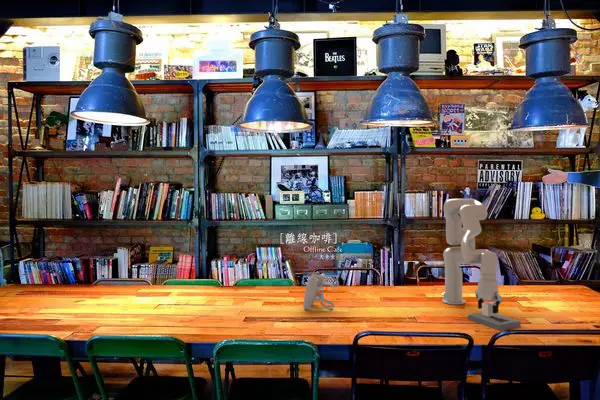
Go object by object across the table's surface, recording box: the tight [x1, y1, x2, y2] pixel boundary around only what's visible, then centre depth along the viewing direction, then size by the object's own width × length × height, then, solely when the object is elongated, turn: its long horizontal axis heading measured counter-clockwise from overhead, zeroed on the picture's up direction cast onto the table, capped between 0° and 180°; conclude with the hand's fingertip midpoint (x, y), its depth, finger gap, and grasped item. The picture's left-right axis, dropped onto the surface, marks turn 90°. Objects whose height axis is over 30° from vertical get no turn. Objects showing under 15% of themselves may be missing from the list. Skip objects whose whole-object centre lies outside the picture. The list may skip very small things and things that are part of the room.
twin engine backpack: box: [303, 271, 341, 311], centre depth 278 cm, size 18×19×20 cm
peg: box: [481, 301, 494, 317], centre depth 250 cm, size 4×4×9 cm
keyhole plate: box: [467, 311, 522, 331], centre depth 247 cm, size 20×14×2 cm
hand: (488, 310), depth 250 cm, fingers open, 9 cm apart
